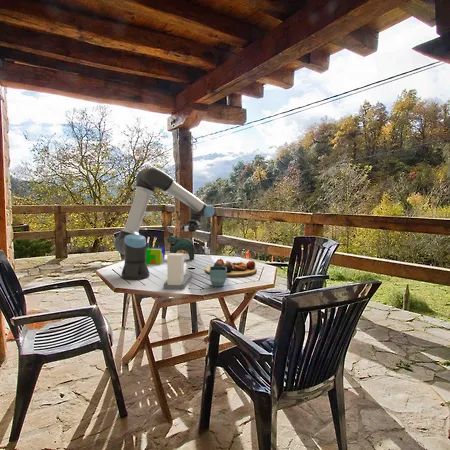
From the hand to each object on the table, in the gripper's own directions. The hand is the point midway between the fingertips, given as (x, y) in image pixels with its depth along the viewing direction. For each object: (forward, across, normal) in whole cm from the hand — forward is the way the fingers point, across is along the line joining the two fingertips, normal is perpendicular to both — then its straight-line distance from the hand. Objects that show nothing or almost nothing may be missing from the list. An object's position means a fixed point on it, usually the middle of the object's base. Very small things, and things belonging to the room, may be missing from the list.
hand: (185, 228), depth 184 cm
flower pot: (+19, -21, -27) cm, 40 cm away
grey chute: (+18, 0, -27) cm, 33 cm away
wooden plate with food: (-13, -26, -27) cm, 40 cm away
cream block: (+26, 0, -26) cm, 36 cm away
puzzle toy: (-32, +27, -27) cm, 50 cm away
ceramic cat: (-48, +12, -27) cm, 57 cm away
